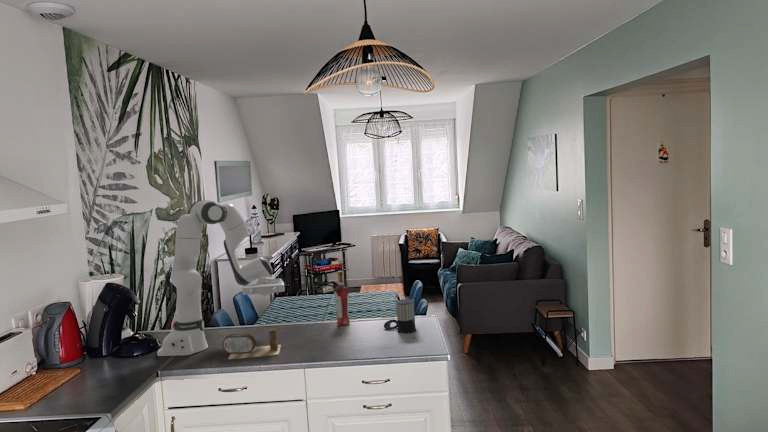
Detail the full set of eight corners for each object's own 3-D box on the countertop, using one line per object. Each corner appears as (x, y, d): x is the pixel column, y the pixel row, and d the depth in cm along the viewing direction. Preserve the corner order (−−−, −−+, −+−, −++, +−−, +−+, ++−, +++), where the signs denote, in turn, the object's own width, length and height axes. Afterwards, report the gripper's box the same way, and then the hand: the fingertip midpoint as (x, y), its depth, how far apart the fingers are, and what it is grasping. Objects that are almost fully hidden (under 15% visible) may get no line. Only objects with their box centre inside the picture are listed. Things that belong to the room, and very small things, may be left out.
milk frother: (416, 333, 275) (414, 302, 274) (383, 335, 276) (381, 304, 274) (415, 325, 289) (413, 296, 288) (384, 326, 290) (382, 297, 288)
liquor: (334, 324, 300) (330, 271, 297) (347, 321, 303) (343, 269, 301) (339, 327, 293) (336, 273, 291) (352, 324, 297) (349, 271, 294)
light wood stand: (228, 359, 252) (226, 337, 251) (232, 349, 266) (231, 328, 265) (278, 354, 255) (277, 333, 254) (280, 345, 268) (279, 324, 268)
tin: (256, 351, 260) (255, 333, 260) (254, 353, 257) (253, 335, 257) (224, 352, 262) (223, 334, 261) (222, 354, 259) (220, 336, 258)
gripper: (243, 281, 283) (239, 287, 269) (285, 278, 285) (283, 283, 271) (244, 294, 284) (240, 300, 270) (286, 290, 286) (284, 296, 272)
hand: (262, 291), depth 271 cm, fingers open, 8 cm apart
